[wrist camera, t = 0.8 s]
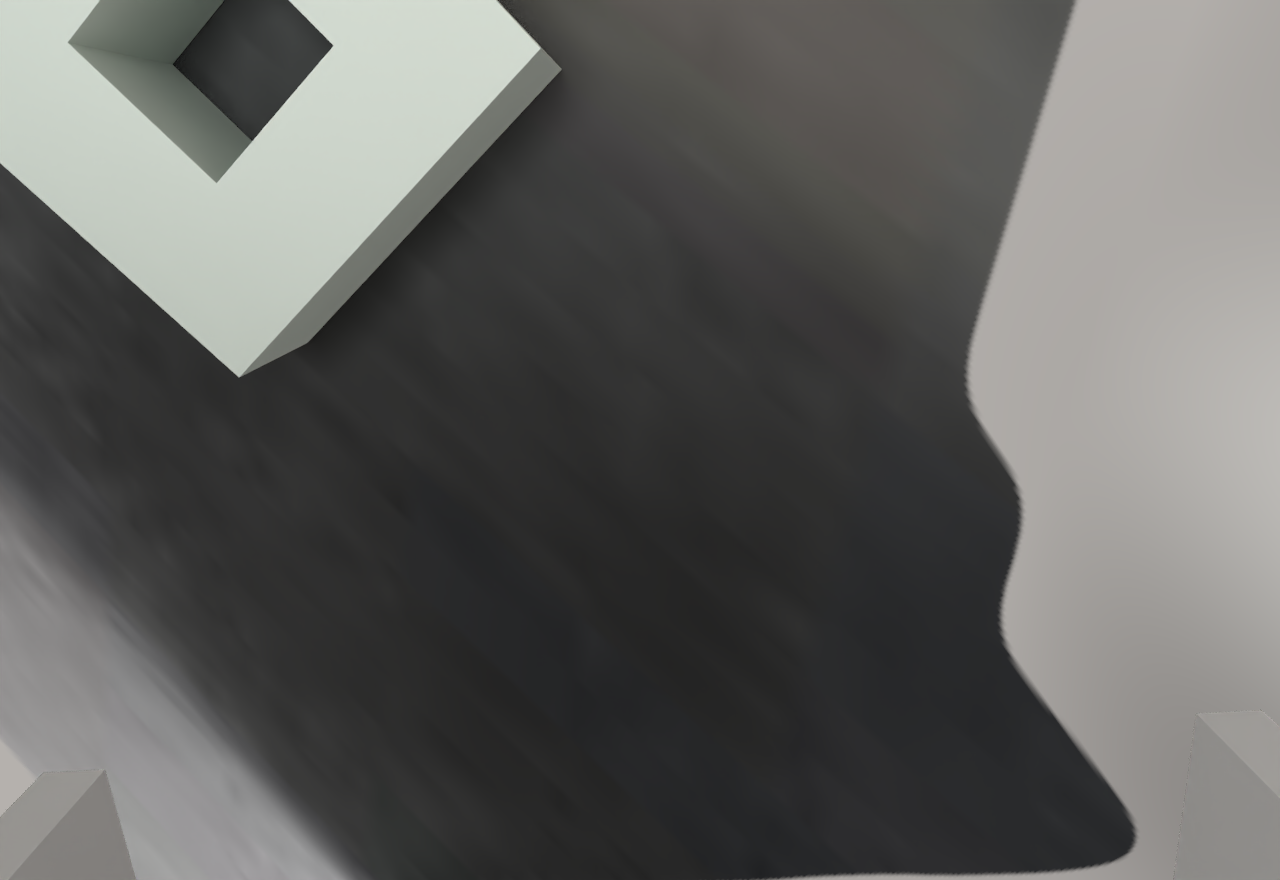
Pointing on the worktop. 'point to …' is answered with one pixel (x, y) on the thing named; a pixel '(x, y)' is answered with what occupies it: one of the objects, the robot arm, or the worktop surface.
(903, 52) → the worktop surface
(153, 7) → the socket block
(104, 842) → the robot arm
